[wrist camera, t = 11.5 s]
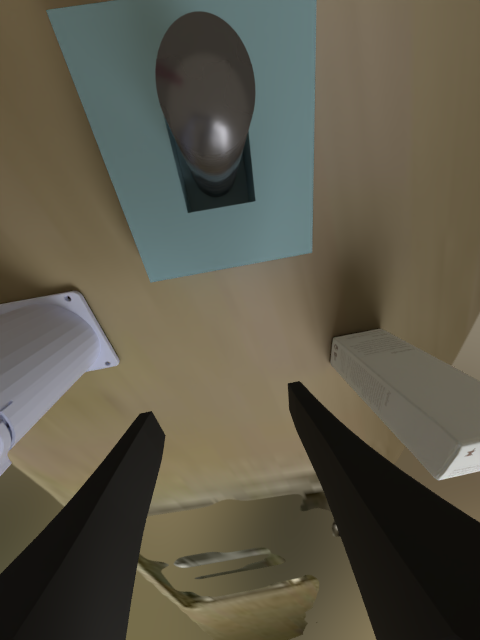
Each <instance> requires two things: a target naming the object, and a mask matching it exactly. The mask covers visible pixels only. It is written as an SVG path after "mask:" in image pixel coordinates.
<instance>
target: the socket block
mask: <svg viewBox="0 0 480 640" xmlns="http://www.w3.org/2000/svg"><path fill="white" fill-rule="evenodd" d="M46 11H47V14H48V17H49V19H50V22H51V24H52V27H53V30H54V32H55V35H56V37H57V40H58V43H59V45H60V48H61V50H62V53H63V56H64V58H65V61H66V63H67V66H68V69H69V71H70V74H71V76H72V79H73V82H74V84H75V87H76V89H77V92H78V95H79V97H80V100H81V102H82V105H83V108H84V110H85V113H86V115H87V118H88V121H89V123H90V126H91V128H92V131H93V134H94V136H95V139H96V141H97V144H98V147H99V149H100V152H101V155H102V157H103V160H104V162H105V165H106V168H107V170H108V173H109V175H110V178H111V181H112V183H113V186H114V188H115V191H116V194H117V196H118V199H119V201H120V204H121V207H122V209H123V212H124V214H125V217H126V220H127V222H128V225H129V227H130V230H131V233H132V235H133V238H134V240H135V243H136V246H137V248H138V251H139V253H140V256H141V259H142V261H143V264H144V266H145V269H146V272H147V274H148V277H149V279H150V282H155V281H161V280H166V279H172V278H177V277H183V276H188V275H194V274H199V273H204V272H210V271H215V270H221V269H226V268H232V267H237V266H242V265H248V264H253V263H259V262H264V261H270V260H275V259H281V258H286V257H291V256H297V255H302V254H308V253H312V228H313V169H314V110H315V51H316V0H114V1H107V2H100V3H93V4H85V5H78V6H71V7H64V8H57V9H50V10H46ZM195 11H203V12H208V13H211V14H214V15H216V16H218V17H220V18H221V19H223V20H224V21H225V22H227V23H228V24H229V25H230V26H231V27H232V28H233V29H234V30H235V32H236V33H237V34H238V36H239V37H240V39H241V40H242V42H243V44H244V46H245V48H246V50H247V52H248V55H249V57H250V61H251V64H252V67H253V72H254V78H255V93H256V94H255V106H254V112H253V116H252V120H251V123H250V127H249V131H248V134H247V138H246V142H245V145H244V149H243V152H242V156H241V160H240V163H239V167H238V171H237V174H236V178H235V182H234V185H233V187H232V188H231V190H230V191H229V192H228V193H227V194H226V195H224V196H222V197H210V196H208V195H206V194H205V193H203V192H202V191H201V190H200V189H199V187H198V186H197V184H196V182H195V180H194V178H193V176H192V174H191V171H190V169H189V167H188V165H187V163H186V161H185V159H184V157H183V155H182V153H181V150H180V148H179V146H178V144H177V142H176V140H175V138H174V136H173V134H172V131H171V129H170V127H169V125H168V123H167V121H166V119H165V117H164V114H163V112H162V109H161V106H160V103H159V99H158V95H157V89H156V80H155V68H156V59H157V54H158V50H159V47H160V43H161V41H162V39H163V37H164V34H165V33H166V31H167V30H168V28H169V27H170V26H171V25H172V24H173V22H174V21H175V20H177V19H178V18H179V17H181V16H183V15H185V14H187V13H190V12H195Z"/></svg>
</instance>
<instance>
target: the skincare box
mask: <svg viewBox="0 0 480 640" xmlns="http://www.w3.org/2000/svg"><path fill="white" fill-rule="evenodd" d="M330 363H331V366H332V367H333V368H334V369H335V370H336V371H337V372H338V373H339V374H340V375H341V376H342V378H343V379H344V380H345V381H346V382H347V383H348V384H349V385H350V386H351V387H352V388H353V390H354V391H355V392H356V393H357V394H358V395H359V396H360V397H361V398H362V399H363V400H364V401H365V403H366V404H367V405H368V406H369V407H370V408H371V409H372V410H373V411H374V412H375V413H376V415H377V416H378V417H379V418H380V419H381V420H382V421H383V422H384V423H385V424H386V426H387V427H388V428H389V429H390V430H391V431H392V432H393V433H394V434H395V435H396V436H397V438H398V439H399V440H400V441H401V442H402V443H403V444H404V445H405V446H406V447H407V448H408V449H409V450H410V451H411V452H412V454H413V455H414V456H415V457H416V458H417V459H418V460H419V461H420V463H421V464H422V465H423V466H424V467H425V468H426V469H427V470H428V471H429V472H430V474H431V475H432V476H433V477H434V478H435V479H437V480H442V479H446V478H451V477H455V476H460V475H464V474H468V473H473V472H477V471H480V381H479V380H477V379H475V378H473V377H471V376H469V375H468V374H466V373H464V372H462V371H460V370H458V369H456V368H454V367H453V366H451V365H449V364H447V363H445V362H443V361H441V360H439V359H438V358H436V357H434V356H432V355H430V354H428V353H426V352H425V351H423V350H421V349H419V348H417V347H415V346H413V345H411V344H409V343H407V342H406V341H404V340H402V339H400V338H398V337H396V336H395V335H393V334H391V333H389V332H387V331H385V330H383V329H376V330H371V331H365V332H360V333H355V334H350V335H344V336H339V337H334V338H333V342H332V350H331V361H330Z"/></svg>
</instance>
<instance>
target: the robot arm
mask: <svg viewBox="0 0 480 640" xmlns="http://www.w3.org/2000/svg"><path fill="white" fill-rule="evenodd" d="M68 296H69V297H70V298H71V300H70V299H69V298H68ZM107 361H108V362H110V363H108V362H107ZM119 362H120V361H119V358H118V357H117V355H116V353H115V351H114V350H113V348H112V346H111V344H110V343H109V341H108V339H107V337H106V336H105V334H104V332H103V330H102V329H101V327H100V325H99V323H98V322H97V320H96V318H95V316H94V315H93V313H92V311H91V309H90V308H89V306H88V304H87V302H86V301H85V299H84V297H83V295H82V294H81V293H80V292H78V291H69V292H64V293H58V294H53V295H47V296H42V297H36V298H31V299H25V300H20V301H14V302H9V303H4V304H0V476H1V475H2V473H3V472H4V471H5V470H6V469H7V468H8V467H9V466H10V465H11V461H10V460H9V458H8V456H7V453H8V451H9V450H10V449H11V448H12V447H13V446H14V445H15V444H16V443H17V442H18V441H19V440H20V439H21V438H22V437H23V436H24V435H25V434H26V433H27V432H28V431H29V430H30V429H31V428H32V427H33V426H34V424H35V423H36V422H37V421H38V420H39V419H40V418H41V417H42V416H43V415H44V414H45V413H46V412H47V411H48V410H49V409H50V408H51V407H52V406H53V405H54V404H55V403H56V402H57V401H58V400H59V399H60V397H61V396H62V395H63V394H64V393H65V392H66V391H67V390H68V389H69V388H70V387H71V386H72V385H73V384H74V383H75V382H76V381H77V380H78V379H79V378H80V377H81V376H82V375H83V374H84V373H85V372H87V371H92V370H97V369H103V368H108V367H113V366H117V365H118V363H119ZM288 395H289V410H290V413H291V416H292V419H293V422H294V425H295V428H296V430H297V433H298V435H299V437H300V439H301V441H302V444H303V446H304V448H305V450H306V452H307V455H308V457H309V459H310V461H311V463H312V466H313V468H314V470H315V472H316V474H317V477H318V479H319V481H320V483H321V486H322V488H323V491H324V493H325V496H326V498H327V501H328V504H329V506H330V509H331V512H332V514H333V517H334V520H335V522H336V525H337V528H338V531H339V533H340V536H341V539H342V542H343V544H344V547H345V550H346V553H347V556H348V558H349V561H350V564H351V567H352V570H353V573H354V575H355V578H356V581H357V584H358V587H359V589H360V592H361V595H362V598H363V601H364V604H365V607H366V610H367V613H368V616H369V619H370V622H371V625H372V628H373V631H374V634H375V636H376V639H377V640H480V522H478V521H476V520H475V519H473V518H472V517H470V516H469V515H467V514H465V513H464V512H462V511H461V510H459V509H458V508H456V507H455V506H453V505H452V504H450V503H449V502H447V501H445V500H444V499H442V498H441V497H439V496H438V495H437V494H435V493H434V492H432V491H431V490H429V489H428V488H426V487H425V486H423V485H422V484H421V483H419V482H417V481H416V480H415V479H413V478H412V477H410V476H409V475H408V474H406V473H404V472H403V471H402V470H400V469H399V468H398V467H396V466H395V465H394V464H392V463H391V462H390V461H388V460H387V459H386V458H384V457H383V456H382V455H380V454H379V453H378V452H376V451H375V450H374V449H373V448H371V447H370V446H369V445H367V444H366V443H365V442H364V441H363V440H361V439H360V438H359V437H358V436H356V435H355V434H354V433H353V432H352V431H351V430H349V429H348V428H347V427H346V426H345V425H344V424H343V423H341V422H340V421H339V420H338V419H337V418H336V417H335V416H334V415H333V414H332V413H331V412H330V411H328V410H327V409H326V408H325V407H324V406H323V405H322V404H321V403H320V402H319V401H318V400H317V399H316V398H315V397H314V396H313V395H312V394H311V393H310V392H309V391H308V389H307V388H306V387H305V386H304V385H303V384H302V383H301V382H300V381H298V382H293V383H288ZM164 441H165V434H164V432H163V430H162V429H161V427H160V425H159V423H158V421H157V420H156V418H155V416H154V414H153V413H152V411H151V412H146V413H141V414H139V416H138V417H137V418H136V419H135V421H134V422H133V423H132V425H131V426H130V427H129V428H128V430H127V431H126V432H125V434H124V435H123V436H122V438H121V439H120V440H119V441H118V443H117V444H116V445H115V447H114V448H113V449H112V450H111V452H110V453H109V454H108V455H107V457H106V458H105V459H104V461H103V462H102V463H101V464H100V466H99V467H98V468H97V469H96V470H95V472H94V473H93V474H92V475H91V476H90V478H89V479H88V480H87V481H86V482H85V484H84V485H83V486H82V487H81V488H80V490H79V491H78V492H77V493H76V494H75V495H74V497H73V498H72V499H71V500H70V501H69V502H68V503H67V505H66V506H65V507H64V508H63V509H62V510H61V512H59V514H58V515H57V516H56V517H55V518H54V519H53V520H52V521H51V522H50V523H49V524H48V525H47V527H46V528H45V529H44V530H43V531H42V532H41V533H40V534H39V535H38V536H37V537H36V539H34V540H33V542H31V543H30V545H28V547H26V548H25V550H24V551H23V552H22V553H21V554H20V555H19V556H18V557H17V558H16V559H15V560H14V561H13V562H12V563H11V564H10V565H9V566H8V567H7V568H6V569H5V570H4V571H3V572H2V573H1V574H0V640H126V633H127V626H128V619H129V612H130V605H131V599H132V593H133V587H134V581H135V575H136V569H137V563H138V558H139V552H140V546H141V541H142V536H143V531H144V527H145V523H146V518H147V514H148V511H149V507H150V503H151V499H152V495H153V491H154V488H155V484H156V480H157V476H158V472H159V468H160V464H161V460H162V455H163V449H164Z"/></svg>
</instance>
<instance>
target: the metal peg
mask: <svg viewBox="0 0 480 640" xmlns="http://www.w3.org/2000/svg"><path fill="white" fill-rule="evenodd" d="M155 80H156V89H157V95H158V99H159V103H160V106H161V109H162V112H163V114H164V117H165V119H166V121H167V123H168V125H169V127H170V129H171V131H172V134H173V136H174V138H175V140H176V142H177V144H178V146H179V148H180V150H181V153H182V155H183V157H184V159H185V161H186V163H187V165H188V167H189V169H190V171H191V174H192V176H193V178H194V180H195V182H196V184H197V186H198V187H199V189H200V190H201V191H202V192H203V193H205V194H206V195H208V196H210V197H222V196H224V195H226V194H227V193H228V192H229V191H230V190H231V188H232V187H233V185H234V182H235V178H236V174H237V171H238V167H239V163H240V160H241V156H242V152H243V149H244V145H245V142H246V138H247V134H248V131H249V127H250V123H251V120H252V116H253V112H254V106H255V94H256V93H255V78H254V72H253V67H252V64H251V61H250V57H249V55H248V52H247V50H246V48H245V46H244V44H243V42H242V40H241V39H240V37H239V36H238V34H237V33H236V32H235V30H234V29H233V28H232V27H231V26H230V25H229V24H228V23H227V22H225V21H224V20H223V19H221V18H220V17H218V16H216V15H214V14H211V13H208V12H203V11H195V12H190V13H187V14H185V15H183V16H181V17H179V18H178V19H177V20H175V21H174V22H173V24H172V25H171V26H170V27H169V28H168V30H167V31H166V33H165V34H164V37H163V39H162V41H161V43H160V47H159V50H158V54H157V59H156V68H155Z"/></svg>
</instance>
